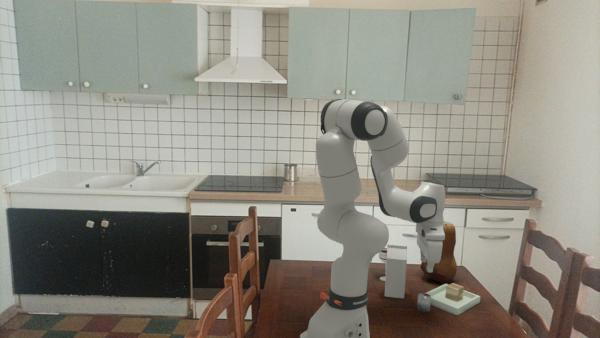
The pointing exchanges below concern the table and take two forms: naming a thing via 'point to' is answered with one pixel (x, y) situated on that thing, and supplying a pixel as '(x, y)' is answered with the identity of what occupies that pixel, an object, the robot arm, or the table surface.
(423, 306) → the grey rounded cylinder
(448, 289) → the beech block
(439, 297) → the tray
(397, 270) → the milk carton
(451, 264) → the butternut squash
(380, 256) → the wineglass
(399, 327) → the table surface
